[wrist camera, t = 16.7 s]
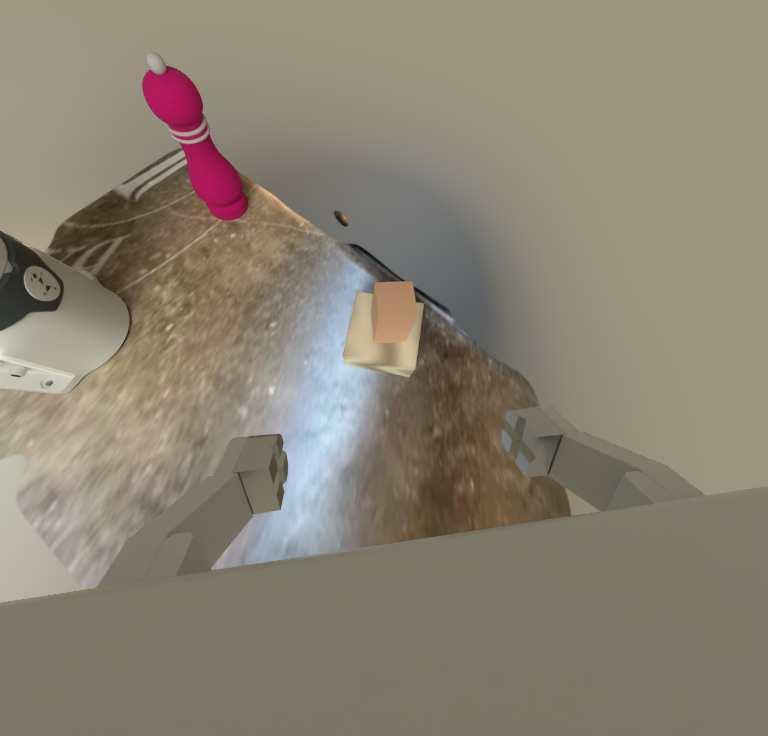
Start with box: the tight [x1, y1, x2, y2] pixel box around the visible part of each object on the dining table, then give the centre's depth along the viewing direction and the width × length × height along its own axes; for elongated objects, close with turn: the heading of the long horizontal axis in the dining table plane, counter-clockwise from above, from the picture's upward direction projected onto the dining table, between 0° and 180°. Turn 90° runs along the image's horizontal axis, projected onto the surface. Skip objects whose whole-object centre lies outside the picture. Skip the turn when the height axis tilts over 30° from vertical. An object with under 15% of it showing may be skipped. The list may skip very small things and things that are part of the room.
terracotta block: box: [371, 281, 418, 344], centre depth 37 cm, size 4×4×8 cm
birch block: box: [343, 291, 424, 377], centre depth 43 cm, size 10×10×5 cm
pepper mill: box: [142, 52, 247, 220], centre depth 41 cm, size 7×7×20 cm
